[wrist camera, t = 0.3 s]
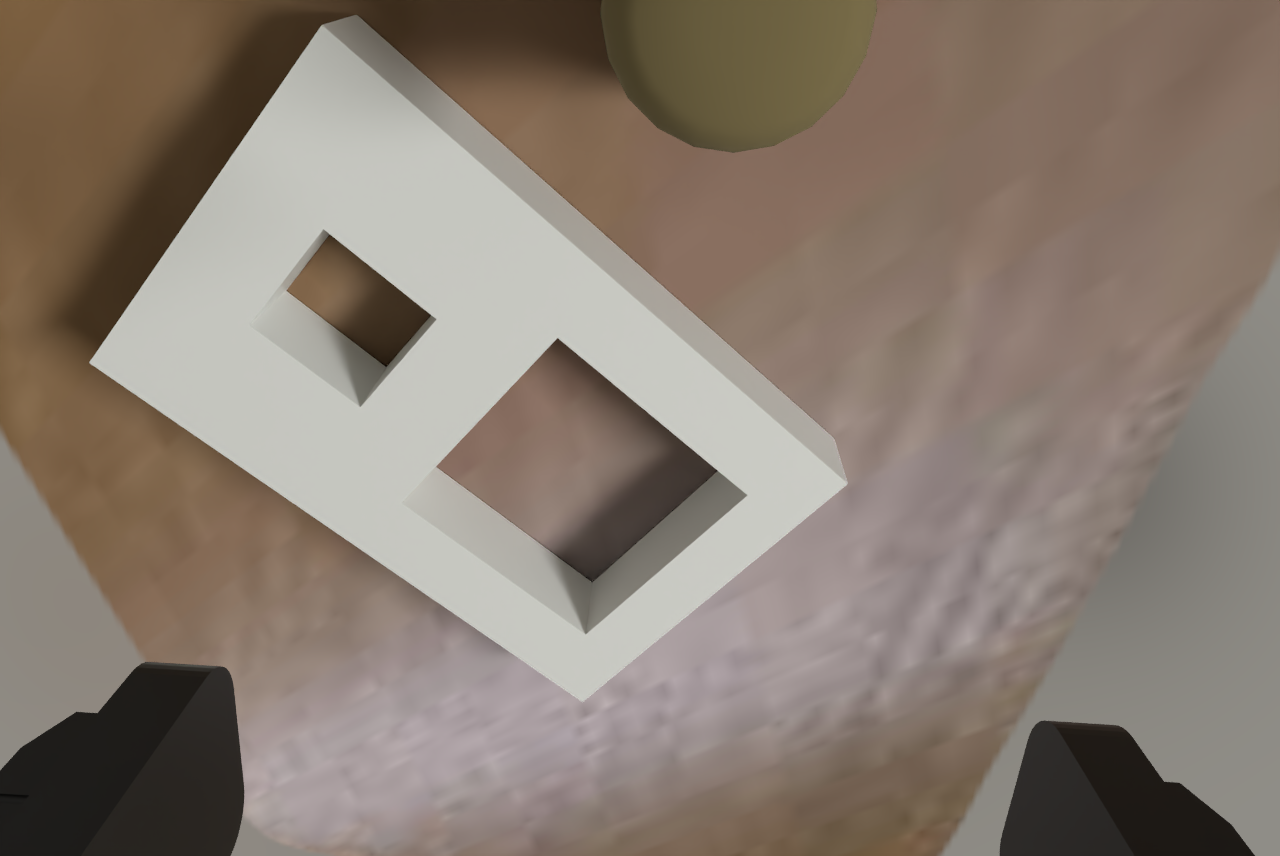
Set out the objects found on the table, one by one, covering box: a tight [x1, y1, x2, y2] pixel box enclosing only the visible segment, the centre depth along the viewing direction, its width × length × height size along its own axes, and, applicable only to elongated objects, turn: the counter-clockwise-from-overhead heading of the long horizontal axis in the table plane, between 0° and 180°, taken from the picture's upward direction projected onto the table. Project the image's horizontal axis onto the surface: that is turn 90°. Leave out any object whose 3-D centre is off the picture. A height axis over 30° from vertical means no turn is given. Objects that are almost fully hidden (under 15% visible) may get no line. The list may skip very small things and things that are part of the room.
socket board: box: [89, 15, 848, 702], centre depth 31 cm, size 13×20×3 cm, turn 48°
